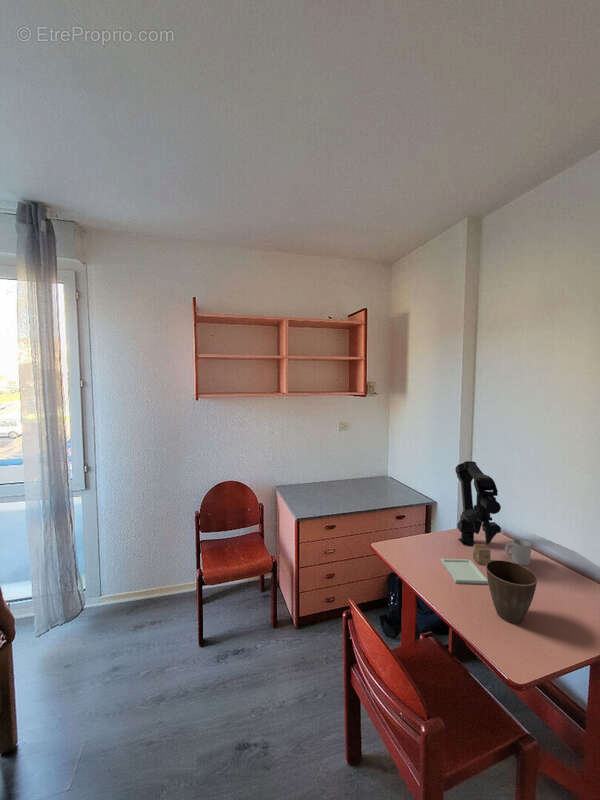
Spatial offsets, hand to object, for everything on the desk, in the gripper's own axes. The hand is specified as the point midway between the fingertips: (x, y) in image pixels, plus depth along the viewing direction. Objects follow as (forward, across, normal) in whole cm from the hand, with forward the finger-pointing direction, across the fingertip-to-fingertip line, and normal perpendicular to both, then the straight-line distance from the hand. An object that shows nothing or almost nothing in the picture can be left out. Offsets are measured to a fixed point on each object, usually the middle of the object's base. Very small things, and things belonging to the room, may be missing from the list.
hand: (482, 538), depth 148 cm
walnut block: (+11, 0, 0) cm, 11 cm away
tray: (+11, +9, -12) cm, 19 cm away
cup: (+11, -2, +17) cm, 20 cm away
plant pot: (+11, +35, -8) cm, 38 cm away
